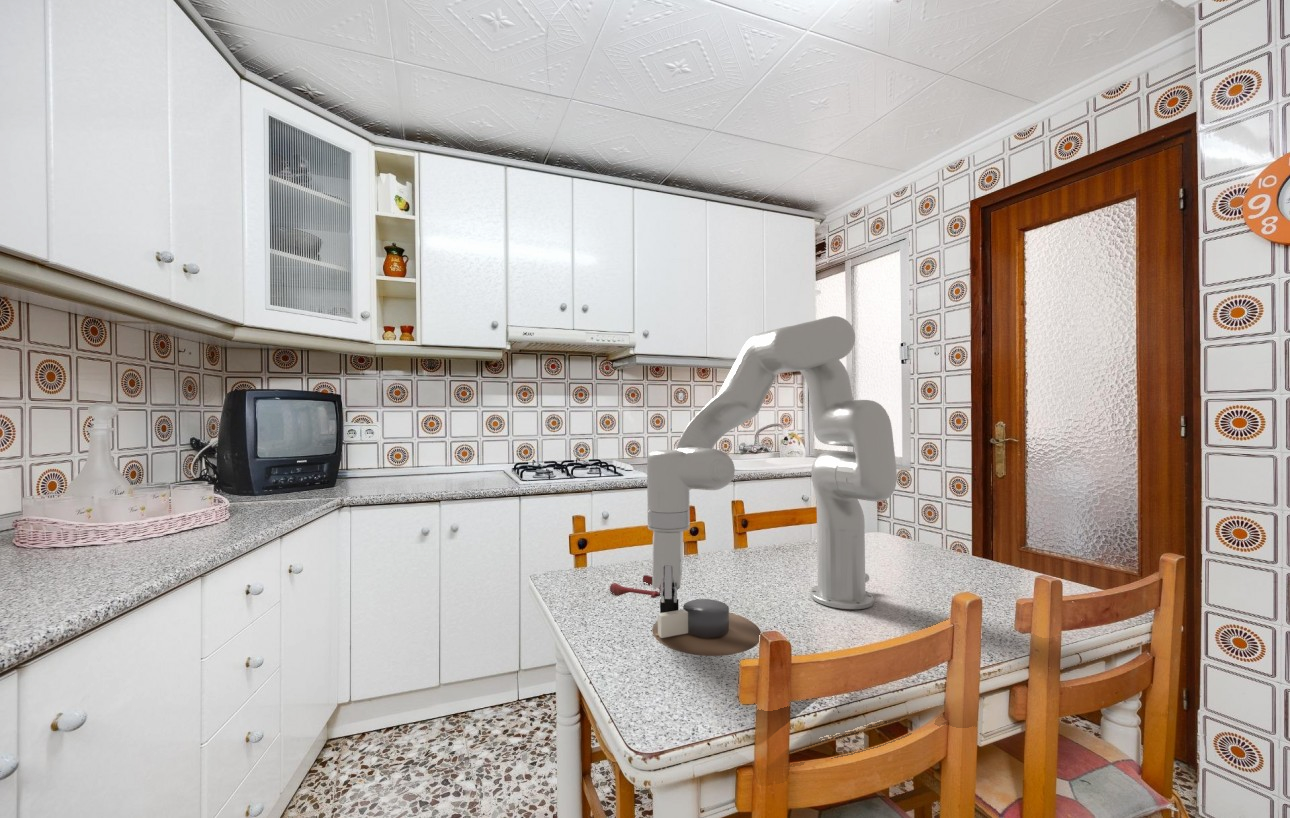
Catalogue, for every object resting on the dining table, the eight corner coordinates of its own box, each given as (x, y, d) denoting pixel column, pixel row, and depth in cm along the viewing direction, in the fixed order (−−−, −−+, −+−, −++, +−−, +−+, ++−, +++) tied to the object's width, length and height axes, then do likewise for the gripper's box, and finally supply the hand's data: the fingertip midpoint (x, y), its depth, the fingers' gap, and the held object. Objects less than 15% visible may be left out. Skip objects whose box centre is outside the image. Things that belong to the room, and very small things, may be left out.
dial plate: (699, 609, 101) (699, 601, 101) (782, 639, 87) (782, 629, 87) (630, 638, 88) (630, 628, 88) (715, 678, 74) (714, 666, 74)
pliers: (665, 622, 96) (664, 608, 96) (607, 594, 112) (607, 582, 112) (707, 608, 103) (707, 595, 103) (647, 583, 119) (647, 572, 119)
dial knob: (714, 616, 93) (714, 596, 93) (738, 632, 86) (737, 611, 86) (650, 627, 88) (650, 606, 88) (669, 646, 81) (669, 623, 81)
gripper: (650, 511, 97) (651, 607, 96) (644, 528, 82) (645, 641, 81) (689, 512, 96) (690, 607, 96) (690, 529, 81) (691, 642, 81)
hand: (669, 623), depth 88 cm, fingers closed
